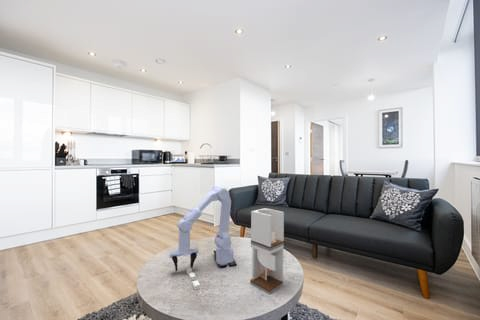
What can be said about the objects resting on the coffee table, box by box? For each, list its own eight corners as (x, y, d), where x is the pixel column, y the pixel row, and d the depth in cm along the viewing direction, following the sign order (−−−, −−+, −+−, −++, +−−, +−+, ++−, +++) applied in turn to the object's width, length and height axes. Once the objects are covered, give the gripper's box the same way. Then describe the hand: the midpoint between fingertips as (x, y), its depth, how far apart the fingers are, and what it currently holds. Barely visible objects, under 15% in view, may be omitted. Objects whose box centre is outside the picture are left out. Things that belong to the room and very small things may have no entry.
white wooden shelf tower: (250, 284, 106) (251, 211, 106) (264, 276, 113) (265, 208, 113) (269, 294, 98) (270, 215, 98) (282, 285, 105) (283, 212, 105)
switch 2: (193, 275, 110) (193, 272, 110) (195, 279, 106) (195, 276, 106) (188, 276, 109) (188, 273, 109) (190, 280, 105) (190, 277, 105)
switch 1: (189, 268, 117) (189, 265, 117) (191, 272, 113) (191, 268, 113) (185, 269, 116) (185, 266, 116) (186, 273, 112) (186, 269, 112)
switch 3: (197, 284, 102) (197, 280, 102) (199, 288, 99) (199, 284, 99) (192, 285, 101) (192, 281, 101) (194, 290, 98) (194, 285, 98)
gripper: (170, 247, 107) (170, 275, 107) (200, 243, 113) (199, 269, 113) (168, 242, 113) (168, 269, 113) (196, 238, 119) (196, 263, 119)
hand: (184, 269), depth 113 cm, fingers open, 7 cm apart
